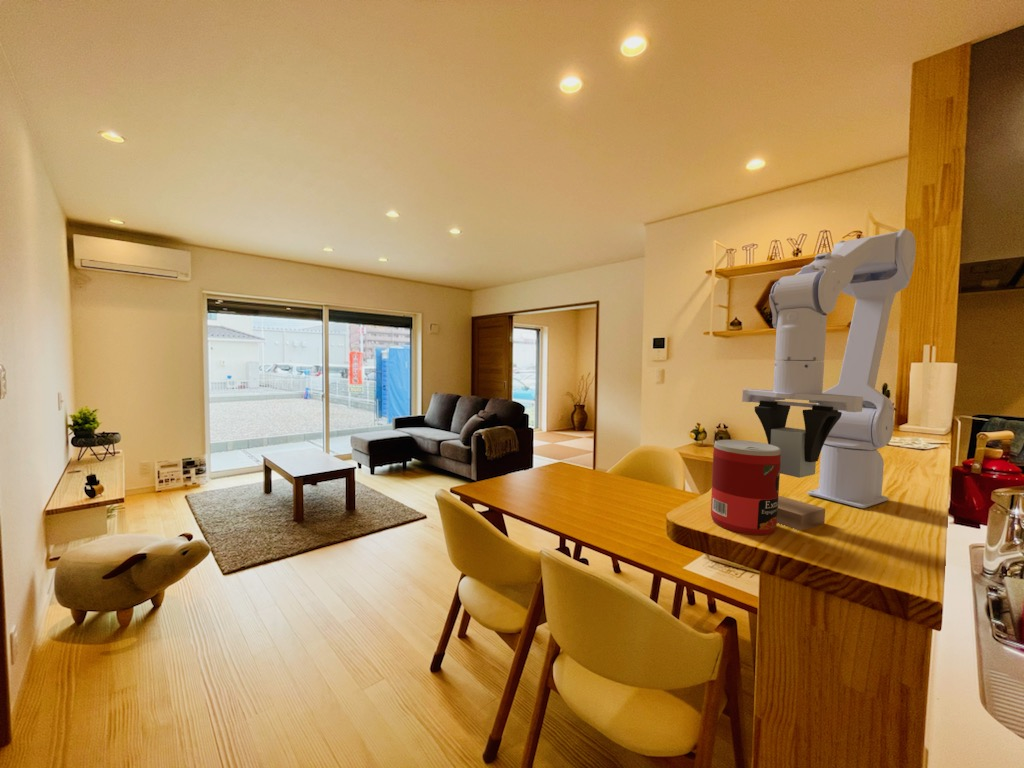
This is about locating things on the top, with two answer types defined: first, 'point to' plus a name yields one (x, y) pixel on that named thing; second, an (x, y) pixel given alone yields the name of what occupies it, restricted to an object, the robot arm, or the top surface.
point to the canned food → (745, 486)
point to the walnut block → (799, 514)
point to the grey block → (792, 451)
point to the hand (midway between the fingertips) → (793, 457)
